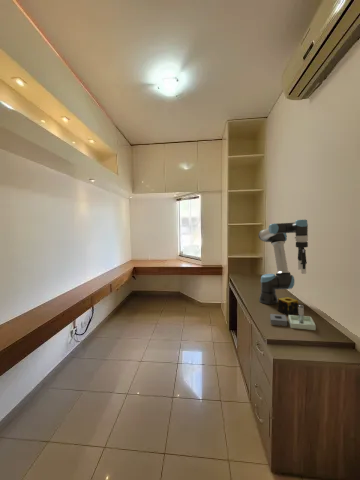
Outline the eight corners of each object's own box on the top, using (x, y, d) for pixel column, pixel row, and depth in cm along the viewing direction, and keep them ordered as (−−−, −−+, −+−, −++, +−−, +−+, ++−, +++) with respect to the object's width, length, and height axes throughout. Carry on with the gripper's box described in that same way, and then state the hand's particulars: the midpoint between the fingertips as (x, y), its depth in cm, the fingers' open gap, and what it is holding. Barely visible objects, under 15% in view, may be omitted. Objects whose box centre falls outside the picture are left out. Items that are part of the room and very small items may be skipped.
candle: (277, 311, 174) (277, 298, 174) (287, 308, 178) (287, 296, 177) (288, 316, 165) (287, 302, 164) (298, 313, 168) (298, 300, 168)
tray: (288, 319, 160) (288, 314, 159) (311, 320, 155) (310, 316, 155) (290, 327, 146) (290, 323, 146) (315, 330, 142) (315, 325, 142)
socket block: (270, 318, 162) (270, 313, 161) (285, 319, 158) (285, 315, 158) (270, 324, 152) (270, 319, 152) (287, 326, 149) (287, 321, 149)
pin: (298, 321, 153) (298, 304, 152) (303, 322, 152) (303, 304, 151) (299, 323, 150) (298, 306, 149) (304, 324, 149) (303, 306, 148)
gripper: (293, 240, 172) (293, 267, 174) (298, 243, 149) (298, 275, 150) (304, 240, 170) (304, 268, 171) (311, 243, 146) (311, 275, 148)
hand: (302, 271), depth 161 cm, fingers open, 13 cm apart
